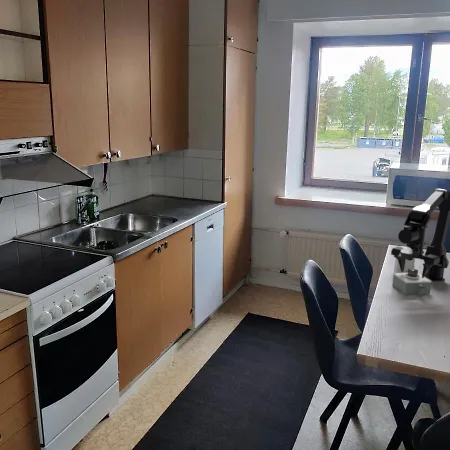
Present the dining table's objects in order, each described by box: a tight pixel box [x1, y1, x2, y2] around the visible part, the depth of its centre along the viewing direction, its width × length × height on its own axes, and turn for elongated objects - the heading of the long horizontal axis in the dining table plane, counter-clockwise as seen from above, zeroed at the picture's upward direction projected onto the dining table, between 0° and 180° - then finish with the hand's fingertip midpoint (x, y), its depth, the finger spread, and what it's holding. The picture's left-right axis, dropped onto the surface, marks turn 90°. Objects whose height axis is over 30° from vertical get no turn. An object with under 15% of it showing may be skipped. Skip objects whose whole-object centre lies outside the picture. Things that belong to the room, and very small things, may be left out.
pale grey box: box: [391, 272, 433, 297], centre depth 198 cm, size 11×14×6 cm
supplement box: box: [393, 245, 416, 274], centre depth 216 cm, size 7×7×13 cm
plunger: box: [405, 268, 420, 279], centre depth 199 cm, size 8×8×8 cm
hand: (412, 274), depth 198 cm, fingers open, 9 cm apart
